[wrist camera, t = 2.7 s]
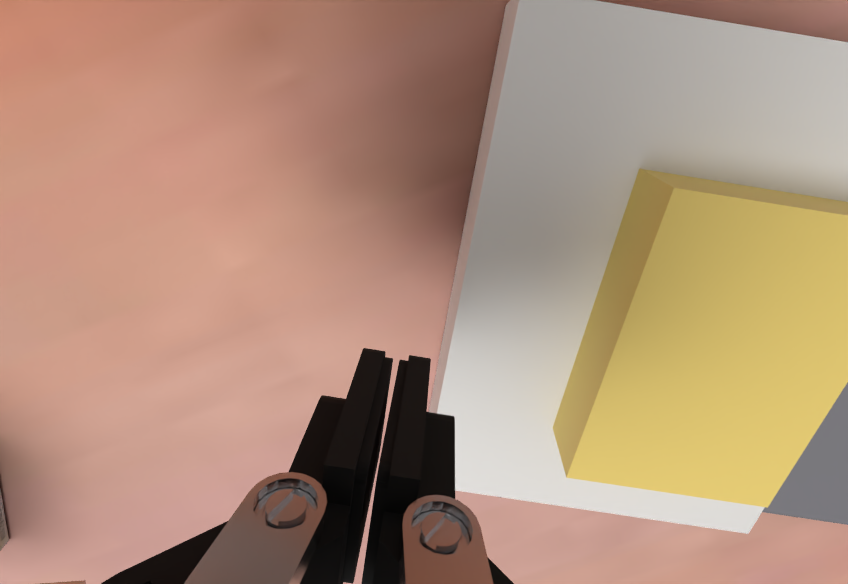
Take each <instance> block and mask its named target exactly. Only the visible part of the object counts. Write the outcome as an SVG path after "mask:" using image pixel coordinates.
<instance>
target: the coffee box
mask: <svg viewBox="0 0 848 584" xmlns="http://www.w3.org/2000/svg"><path fill="white" fill-rule="evenodd" d="M8 541H9V537H8V531H7V526H6V520H5V514H4V508H3V501H2V495H1V490H0V550H1V549H2V548H3V547H4V546H5V545H6V544H7V542H8Z"/></svg>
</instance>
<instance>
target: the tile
mask: <svg viewBox="0 0 848 584" xmlns="http://www.w3.org/2000/svg"><path fill="white" fill-rule="evenodd" d="M847 382H848V202H845V201H839V200H833V199H827V198H820V197H814V196H808V195H802V194H795V193H789V192H783V191H777V190H770V189H764V188H758V187H752V186H745V185H739V184H733V183H727V182H720V181H714V180H708V179H702V178H696V177H689V176H683V175H677V174H671V173H664V172H658V171H652V170H646V169H639V171H638V174H637V177H636V180H635V183H634V186H633V189H632V192H631V195H630V197H629V200H628V203H627V206H626V209H625V212H624V215H623V218H622V221H621V224H620V227H619V230H618V233H617V236H616V239H615V242H614V245H613V248H612V251H611V254H610V257H609V260H608V263H607V266H606V269H605V272H604V275H603V278H602V281H601V284H600V287H599V290H598V293H597V296H596V299H595V302H594V305H593V308H592V311H591V314H590V317H589V320H588V323H587V326H586V329H585V332H584V335H583V338H582V341H581V344H580V347H579V350H578V353H577V356H576V359H575V362H574V365H573V368H572V371H571V374H570V377H569V380H568V383H567V386H566V389H565V392H564V395H563V398H562V401H561V404H560V407H559V410H558V413H557V416H556V419H555V422H554V425H553V431H554V435H555V439H556V442H557V446H558V449H559V453H560V456H561V460H562V464H563V467H564V471H565V474H566V478H572V479H579V480H586V481H592V482H599V483H606V484H613V485H619V486H626V487H633V488H639V489H646V490H653V491H660V492H666V493H673V494H680V495H686V496H693V497H700V498H706V499H713V500H720V501H727V502H733V503H740V504H747V505H753V506H760V507H767V508H768V506H769V505H770V503H771V502H772V500H773V498H774V497H775V495H776V494H777V492H778V491H779V489H780V487H781V486H782V484H783V483H784V481H785V480H786V478H787V476H788V475H789V473H790V472H791V470H792V469H793V467H794V465H795V464H796V462H797V461H798V459H799V458H800V456H801V455H802V453H803V451H804V450H805V448H806V447H807V445H808V444H809V442H810V440H811V439H812V437H813V436H814V434H815V433H816V431H817V429H818V428H819V426H820V425H821V423H822V422H823V420H824V418H825V417H826V415H827V414H828V412H829V411H830V409H831V407H832V406H833V404H834V403H835V401H836V400H837V398H838V396H839V395H840V393H841V392H842V390H843V389H844V387H845V386H846V384H847Z"/></svg>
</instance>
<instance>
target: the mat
mask: <svg viewBox="0 0 848 584" xmlns="http://www.w3.org/2000/svg"><path fill="white" fill-rule="evenodd" d="M762 512H766V513H773V514H779V515H786V516H793V517H800V518H806V519H813V520H820V521H827V522H833V523H840V524H847V525H848V382H847V384H846V386H845V387H844V389H843V390H842V392H841V393H840V395H839V396H838V398H837V400H836V401H835V403H834V404H833V406H832V407H831V409H830V411H829V412H828V414H827V415H826V417H825V418H824V420H823V422H822V423H821V425H820V426H819V428H818V429H817V431H816V433H815V434H814V436H813V437H812V439H811V440H810V442H809V444H808V445H807V447H806V448H805V450H804V451H803V453H802V455H801V456H800V458H799V459H798V461H797V462H796V464H795V465H794V467H793V469H792V470H791V472H790V473H789V475H788V476H787V478H786V480H785V481H784V483H783V484H782V486H781V487H780V489H779V491H778V492H777V494H776V495H775V497H774V498H773V500H772V502H771V503H770V505H769V506H768V508H767V507H765V508H764V509H763V511H762Z"/></svg>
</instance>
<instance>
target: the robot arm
mask: <svg viewBox="0 0 848 584" xmlns="http://www.w3.org/2000/svg"><path fill="white" fill-rule="evenodd" d="M430 361H431V359H430V358H423V357H417V356H411V355H409V360H408V361H405V360H400V361H399V366H398V371H397V376H396V381H395V386H394V392H393V397H392V402H391V407H390V412H389V417H388V422H387V427H386V432H385V438H384V443H383V448H382V453H381V458H380V463H379V469H378V475H377V481H376V487H375V494H374V501H373V508H372V515H371V522H370V529H369V536H368V543H367V550H366V557H365V564H364V571H363V578H362V584H514V583H513V582H512V581H511V580H510V579H509V578H508V577H507V576H506V575H505V574H504V573H503V572H502V571H501V570H500V569H499V568H498V567H497V566H496V565H495V564H494V563H493V562H492V561H491V560H490V559H489V558H488V557H487V554H486V549H485V545H484V541H483V536H482V532H481V527H480V525H479V523H478V520H477V518H476V516H475V515H474V514H473V512H472V511H471V510H470V509H469V508H468V507H467V506H465V505H464V504H463V503H461V502H460V501H458V500H456V499H455V417H454V416H450V415H444V414H438V413H431V412H426V409H427V397H428V385H429V373H430ZM392 362H393V359H392V358H386V357H385V351H379V350H373V349H366V348H363V351H362V354H361V357H360V360H359V363H358V366H357V368H356V371H355V374H354V377H353V380H352V383H351V386H350V389H349V392H348V395H347V398H346V399H342V398H336V397H330V396H323V395H322V396H321V398H320V400H319V402H318V404H317V406H316V409H315V411H314V413H313V416H312V418H311V420H310V423H309V425H308V428H307V430H306V432H305V435H304V437H303V439H302V442H301V444H300V446H299V449H298V451H297V453H296V456H295V458H294V461H293V463H292V465H291V468H290V470H289V472H287V473H279V474H275V475H272V476H269V477H267V478H265V479H264V480H262V481H260V482H259V483H257V484H256V485H255V486H254V487H253V488H252V489H251V491H250V492H249V493H248V494H247V496H246V497H245V499H244V500H243V501H242V503H241V504H240V506H239V507H238V508H237V510H236V511H235V513H234V514H233V515H232V517H231V518H230V520H229V521H227V522H225V523H223V524H221V525H219V526H217V527H214V528H212V529H210V530H208V531H206V532H204V533H202V534H200V535H198V536H196V537H193V538H191V539H189V540H187V541H185V542H183V543H181V544H179V545H177V546H175V547H172V548H170V549H168V550H166V551H164V552H162V553H160V554H158V555H156V556H154V557H151V558H149V559H147V560H145V561H143V562H141V563H139V564H137V565H135V566H133V567H130V568H128V569H126V570H124V571H122V572H120V573H118V574H116V575H114V576H113V577H111V578H110V579H108V580H106V581H105V582H103V583H101V584H343V582H346V583H353V582H354V577H355V572H356V567H357V562H358V557H359V552H360V547H361V542H362V537H363V532H364V527H365V522H366V517H367V512H368V507H369V503H370V498H371V493H372V488H373V483H374V478H375V473H376V468H377V463H378V458H379V452H380V446H381V439H382V432H383V425H384V418H385V411H386V404H387V397H388V390H389V383H390V376H391V369H392ZM42 584H86V581H71V582H57V583H42Z"/></svg>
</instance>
